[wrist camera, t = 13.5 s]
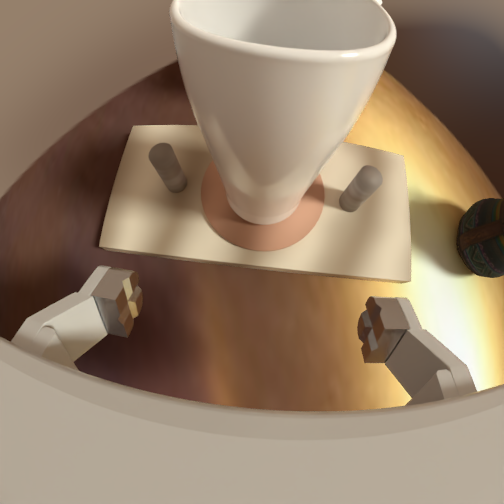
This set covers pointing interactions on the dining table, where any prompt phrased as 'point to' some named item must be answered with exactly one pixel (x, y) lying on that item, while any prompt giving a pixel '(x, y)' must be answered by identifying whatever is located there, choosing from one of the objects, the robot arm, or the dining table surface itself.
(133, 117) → the dining table surface
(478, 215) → the mate gourd
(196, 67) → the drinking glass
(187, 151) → the pin board
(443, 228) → the dining table surface
